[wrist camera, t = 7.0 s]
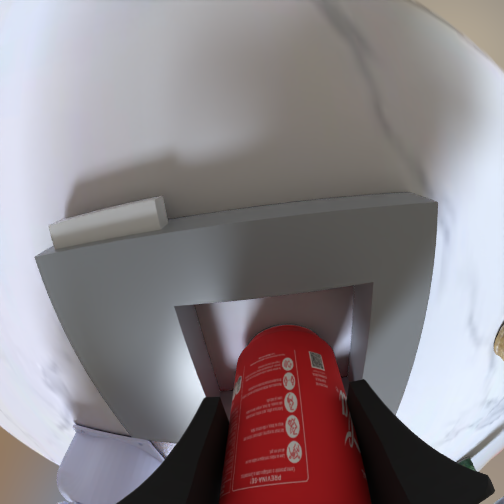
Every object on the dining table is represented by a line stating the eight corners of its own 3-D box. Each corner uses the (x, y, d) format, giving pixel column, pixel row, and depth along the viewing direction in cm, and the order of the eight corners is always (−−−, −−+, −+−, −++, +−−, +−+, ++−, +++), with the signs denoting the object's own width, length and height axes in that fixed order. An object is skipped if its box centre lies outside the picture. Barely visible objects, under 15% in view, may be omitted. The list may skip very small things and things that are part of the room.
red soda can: (264, 302, 13) (255, 581, 2) (348, 336, 14) (414, 549, 3) (224, 369, 15) (190, 570, 4) (300, 394, 16) (315, 572, 4)
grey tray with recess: (141, 413, 17) (132, 437, 15) (56, 219, 12) (27, 233, 10) (382, 395, 16) (393, 420, 14) (407, 167, 11) (437, 172, 8)
